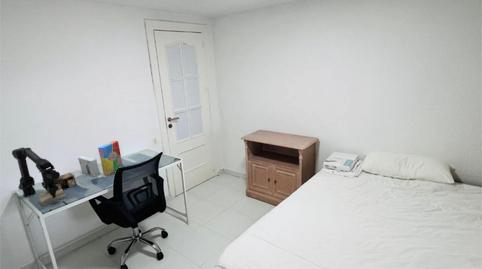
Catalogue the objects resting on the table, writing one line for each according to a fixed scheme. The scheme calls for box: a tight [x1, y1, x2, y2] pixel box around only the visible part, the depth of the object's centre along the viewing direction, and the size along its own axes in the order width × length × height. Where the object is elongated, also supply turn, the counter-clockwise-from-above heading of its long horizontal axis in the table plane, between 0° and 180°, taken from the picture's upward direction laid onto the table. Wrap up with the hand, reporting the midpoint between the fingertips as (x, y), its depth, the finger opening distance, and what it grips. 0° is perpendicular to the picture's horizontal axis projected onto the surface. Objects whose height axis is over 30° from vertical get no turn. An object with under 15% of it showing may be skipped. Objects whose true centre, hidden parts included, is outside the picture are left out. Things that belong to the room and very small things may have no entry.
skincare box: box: [77, 155, 101, 177], centre depth 230 cm, size 21×6×16 cm, turn 62°
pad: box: [39, 192, 68, 206], centre depth 189 cm, size 16×7×1 cm, turn 141°
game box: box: [97, 140, 124, 176], centre depth 233 cm, size 21×6×27 cm, turn 168°
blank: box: [38, 188, 64, 204], centre depth 188 cm, size 4×14×6 cm, turn 139°
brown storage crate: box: [54, 172, 77, 189], centre depth 206 cm, size 16×9×9 cm, turn 141°
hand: (52, 195), depth 188 cm, fingers open, 9 cm apart
